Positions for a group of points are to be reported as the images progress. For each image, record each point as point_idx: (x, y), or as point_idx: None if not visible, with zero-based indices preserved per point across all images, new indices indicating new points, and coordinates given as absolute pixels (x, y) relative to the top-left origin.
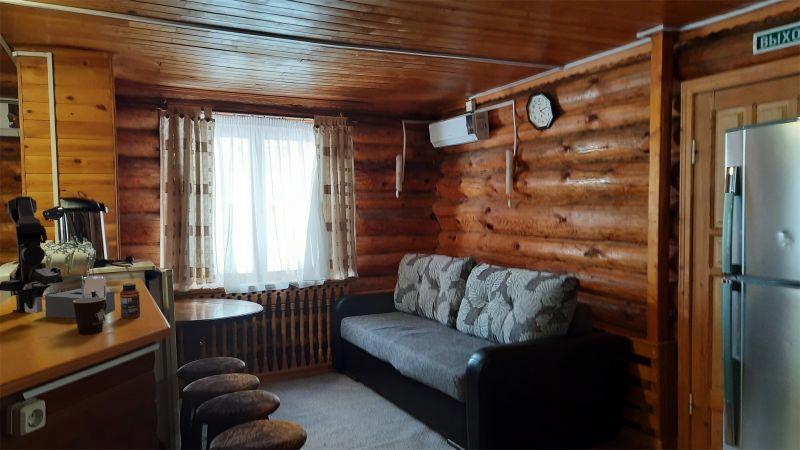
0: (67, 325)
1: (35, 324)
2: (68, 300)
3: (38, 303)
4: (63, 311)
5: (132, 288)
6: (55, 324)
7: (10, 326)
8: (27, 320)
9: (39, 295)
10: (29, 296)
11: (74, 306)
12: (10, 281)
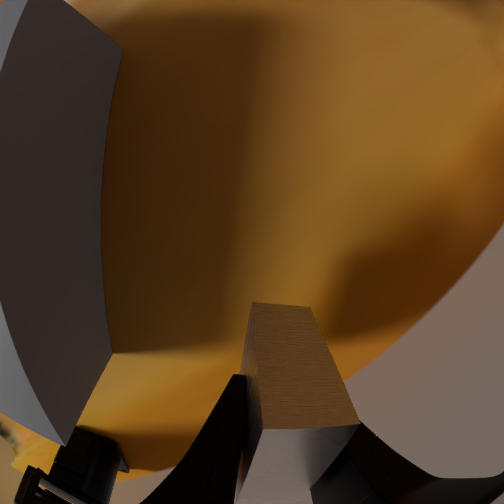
0: (311, 26)
1: (314, 264)
2: (10, 189)
3: (311, 363)
4: (78, 233)
5: None
6: (300, 118)
7: (359, 357)
8: (222, 378)
9: (238, 467)
10: (396, 461)
11: None
12: None
